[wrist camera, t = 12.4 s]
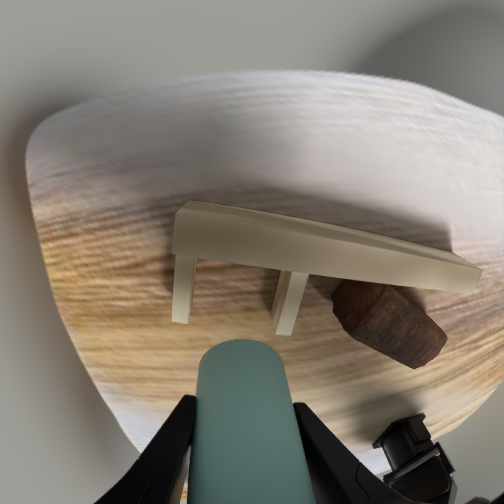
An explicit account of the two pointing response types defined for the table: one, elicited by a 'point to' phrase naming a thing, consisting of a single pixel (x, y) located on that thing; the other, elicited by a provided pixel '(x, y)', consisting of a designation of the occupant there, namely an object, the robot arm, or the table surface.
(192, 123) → the table surface
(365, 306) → the brick
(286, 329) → the backstop fence
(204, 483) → the dowel
